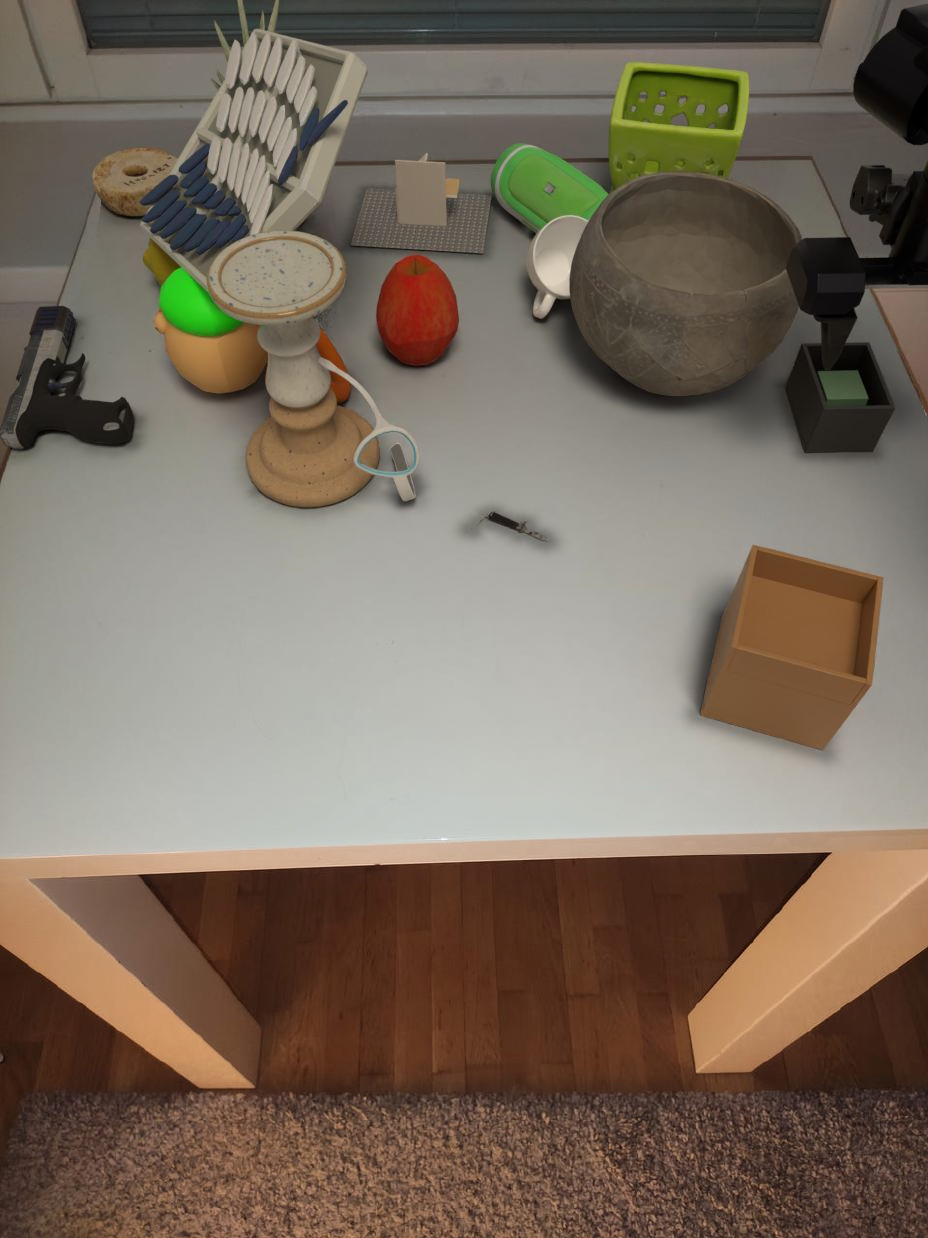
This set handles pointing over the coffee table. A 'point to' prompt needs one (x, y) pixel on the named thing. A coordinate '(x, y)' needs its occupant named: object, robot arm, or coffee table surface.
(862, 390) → the block
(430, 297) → the apple
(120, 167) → the stone disc
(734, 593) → the box
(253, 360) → the figurine
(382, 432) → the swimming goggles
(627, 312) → the bowl
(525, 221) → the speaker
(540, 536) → the knife
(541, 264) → the cup
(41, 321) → the handgun
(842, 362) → the black open box
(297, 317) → the candle holder
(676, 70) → the flower pot
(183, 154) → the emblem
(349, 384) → the orange flat curved piece
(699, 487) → the coffee table surface
